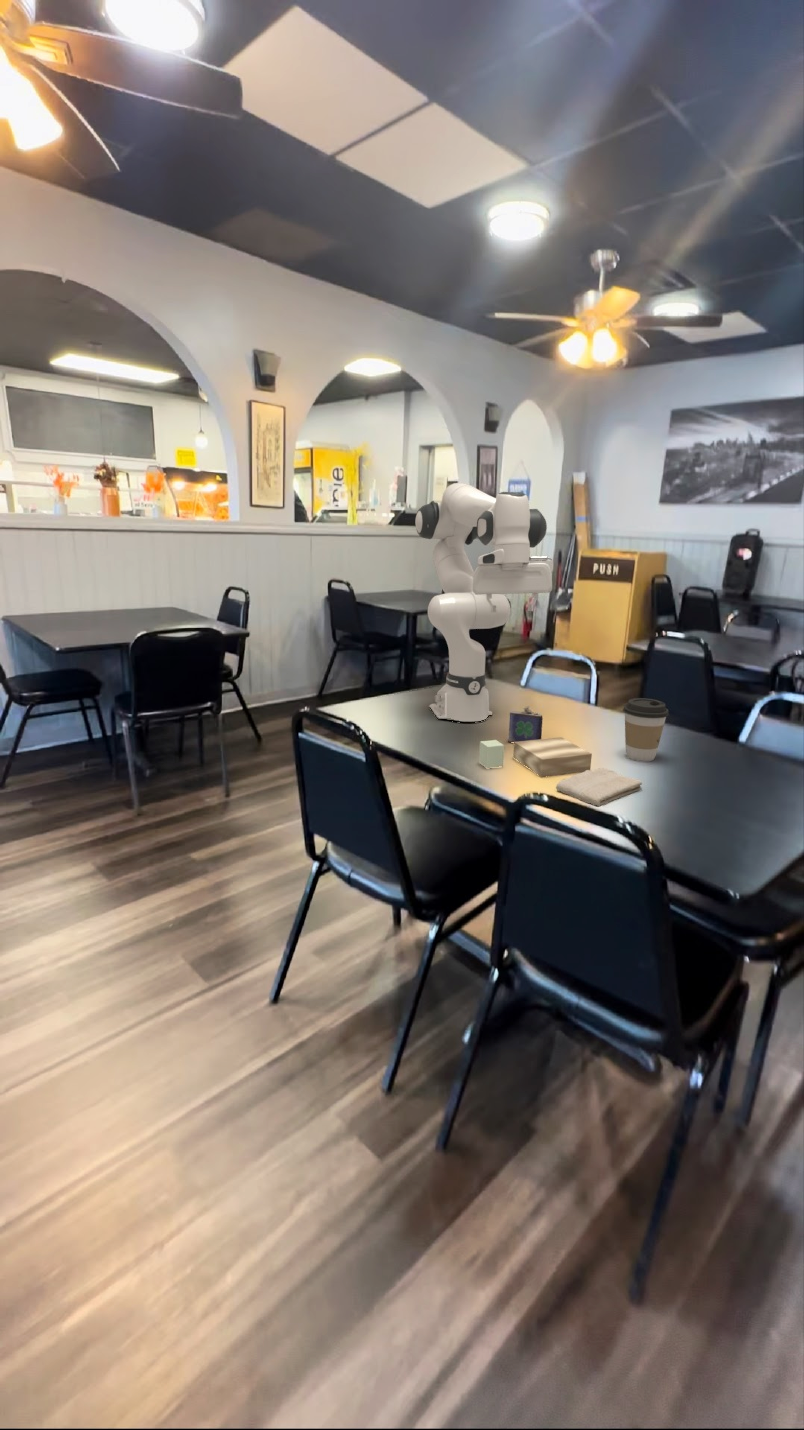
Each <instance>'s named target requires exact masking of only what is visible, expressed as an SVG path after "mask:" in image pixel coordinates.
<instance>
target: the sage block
mask: <svg viewBox="0 0 804 1430" xmlns="http://www.w3.org/2000/svg"><path fill="white" fill-rule="evenodd" d="M478 754H479V756H478V763H479V762H481V763H482V764H483V765H485V767H487V768H490V767H499V766H503V767H504V756H505V755H504V754H505V744H503V743H501V742H500V741H498V740H497V739H493V740H481V741H479V753H478Z"/></svg>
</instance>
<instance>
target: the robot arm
mask: <svg viewBox="0 0 804 1430" xmlns="http://www.w3.org/2000/svg"><path fill="white" fill-rule="evenodd" d="M529 503H530V502H529V497H528V495H527V494H526V493H524V492H520V491H501V492H499V493H497V495H496V496H495V497H494V496H491V495H490V494H488V493H485V492H483V491H482V490H479V489H478V488H476V487H475V486H473V485H470V484H467V483H464V482H453V483H452V484H450V485H448V486H447V487H446V488H445V490H444V491H443V492H442V497H441V501H440V502H439V501H438V502H435V501H434V500H431V501H430V502H429V503H427V504H423V505H422V506H421V507H419V509H418V510H417V512H416V516H415V528H416V529H415V530H416V533H417V534H418V536H419V537H421V538H423V539H425V540H426V539H428V540H431V539H433V540H439V541H438V542H437V543H436V544H435V545H434V547H433V551H432V555H433V557H432V558H433V562H434V563H433V564H434V569H435V572H436V575H437V578H438V581H439V583H440V587H441V589H442V590H443V592H444V593H442V594H437V595H434V596H433V597H432V598H431V599H430V601H429V604H428V606H427V617H428V620H429V622H430V624H432V625H431V626H433V627H434V628H436V630H438V631H439V632H440V633H441V634H442V635H443V637H444V639H445V641H446V642H445V643H446V644H447V647H448V661H449V662H448V670H449V671H448V672H446V677H445V678H446V679H445V684H444V685H443V686H442V687H441V688H440V689H439V690H438V691H437V694H435V695H434V702H435V703H431V704H429V707H431V709H432V710H433V711H434V713H435V714H436V715H437V717H439V718H451V719H454V720H459V721H481V720H484V719H486V718H487V717H488V715H492V716H493V711H491V710H490V698H489V697H490V696H489V690H488V689H487V688H486V687H485V686H486V685H487V684H486V682H487V674H486V672H485V671H486V654H487V653H486V650H485V648H484V646H483V644H481V643H480V642H479V641H476V640H474V639H472V638H471V637H470V630H476V629H477V630H478V629H479V630H481V629H482V630H484V629H493V628H498V627H501V626H504V625H505V624H506V623H507V621H508V619H509V618H510V615H511V604H510V602H509V600H508V598H507V597H506V596H505V595H506V594H507V595H509V594H510V595H513V594H515V595H516V594H531V598H533V599H532V601H531V603H530V604H527V612H529V613H530V612H534V607H535V603H536V602H537V600H538V598H539V594H549V593H551V592H552V591H553V580H552V579H553V578H552V573H553V572H554V560H553V559H552V558H550V557H548V556H547V555H543V556H538V555H537V556H532V555H530V553H531V551H530V550H531V549H532V548H536V547H537V546H538V545H540V543H542V541H543V540H544V539H545V536H546V534H547V529H548V527H547V526H548V525H547V524H548V523H547V521H546V518H545V516H544V515H543V513H542V512H541V511H540V510H539V509H538V508H530V504H529ZM477 538H478V541H480V543H482V545H483V546H487V547H491V548H492V547H494V550H493V551H491V552H490V551H489V552H487V553H485V554H482V555H480V556H478V558H476V559H477V565H478V566H477V567H476V568H475V570H474V569H473V566H472V563H471V561H470V560H469V557H468V555H467V552H466V549H465V545H467V546H469V545H471V544H473V542H474V540H475V539H477ZM436 704H437V705H436ZM431 709H430V710H431ZM440 715H441V716H440ZM488 718H489V717H488ZM488 718H487V719H488ZM487 719H486V720H487ZM484 721H485V720H484ZM481 722H482V721H481Z"/></svg>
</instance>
